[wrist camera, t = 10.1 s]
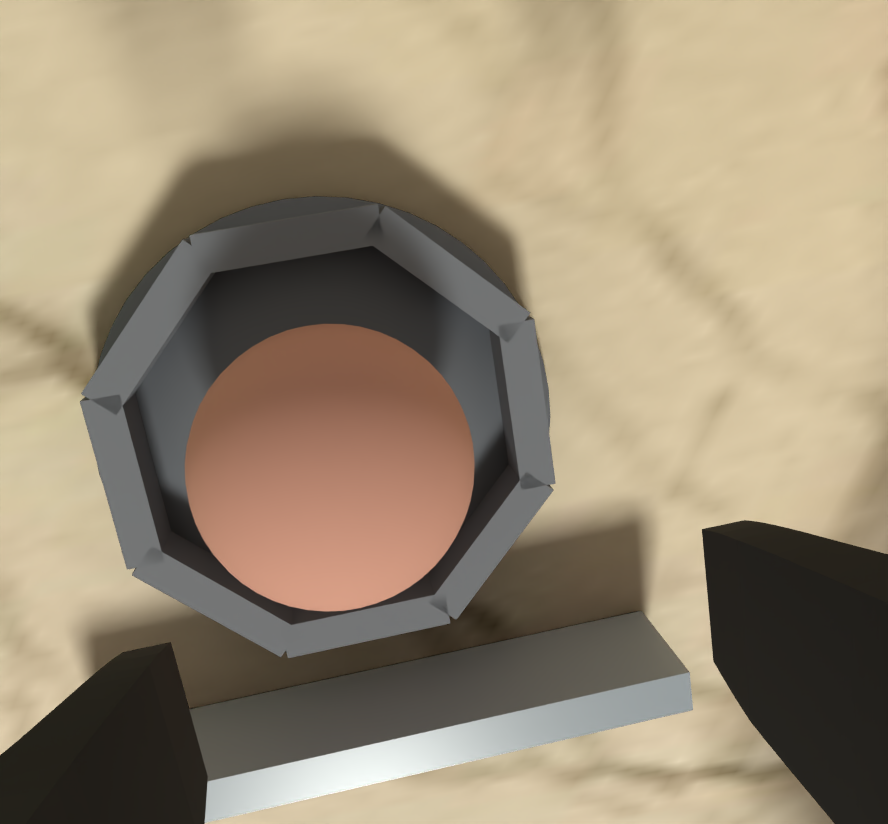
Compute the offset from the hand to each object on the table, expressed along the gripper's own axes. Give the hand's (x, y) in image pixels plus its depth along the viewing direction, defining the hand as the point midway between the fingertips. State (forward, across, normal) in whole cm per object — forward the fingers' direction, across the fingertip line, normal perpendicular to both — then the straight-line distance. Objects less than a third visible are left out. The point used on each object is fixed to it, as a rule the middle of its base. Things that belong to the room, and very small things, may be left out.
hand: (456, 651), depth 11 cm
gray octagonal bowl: (+9, +2, -1) cm, 9 cm away
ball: (+9, +2, -1) cm, 9 cm away
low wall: (+9, +2, +6) cm, 11 cm away
